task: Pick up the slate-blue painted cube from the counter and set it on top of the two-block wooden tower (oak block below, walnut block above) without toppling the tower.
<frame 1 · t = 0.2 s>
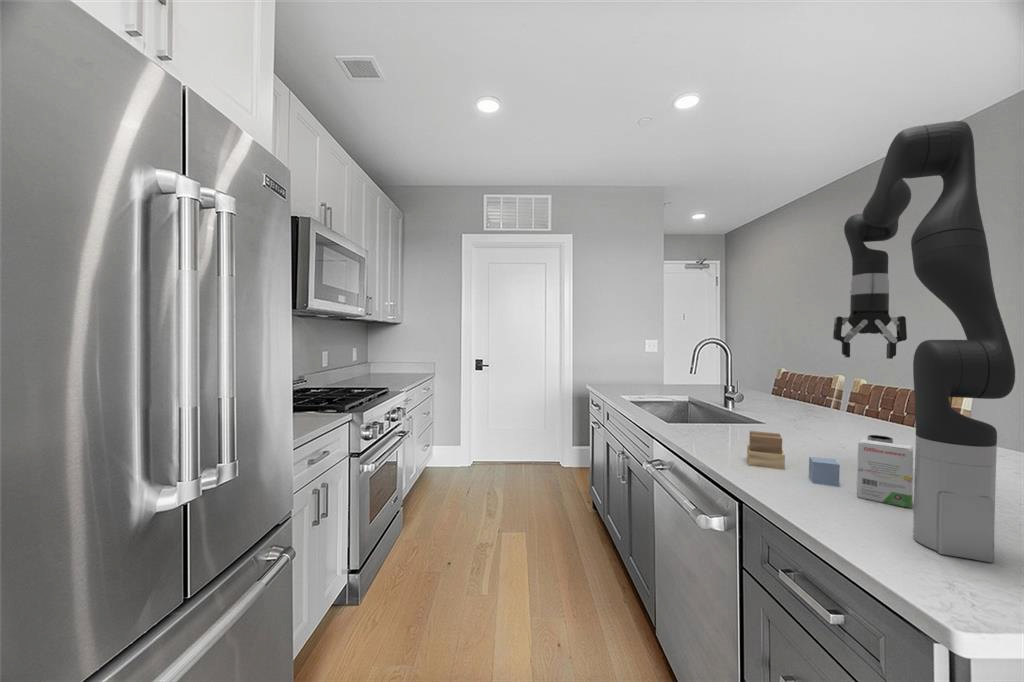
hand: (868, 358, 111), 28 cm above the worktop, fingers open, 8 cm apart
planter: (879, 481, 104), on the worktop
oak block: (765, 464, 117), on the worktop, touching walnut block
blue cube: (823, 481, 103), on the worktop
walnut block: (764, 449, 117), point 4 cm above the worktop, touching oak block
ink box: (884, 501, 92), on the worktop
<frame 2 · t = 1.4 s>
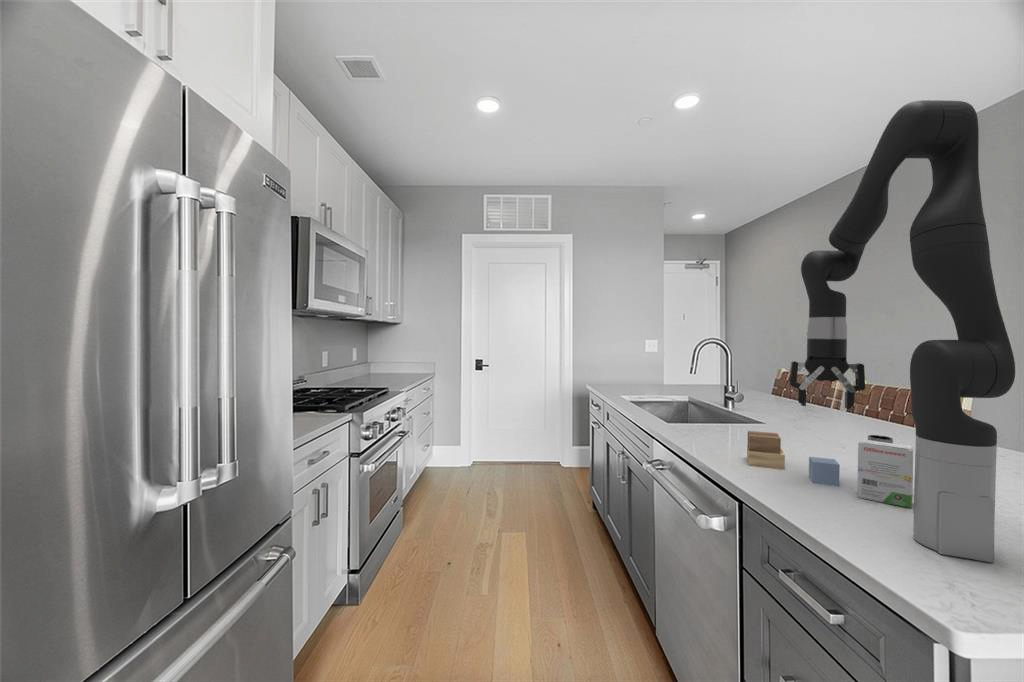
hand: (825, 407, 103), 17 cm above the worktop, fingers open, 8 cm apart
oak block: (764, 464, 117), on the worktop
walnut block: (763, 449, 118), point 4 cm above the worktop
everything else where it was.
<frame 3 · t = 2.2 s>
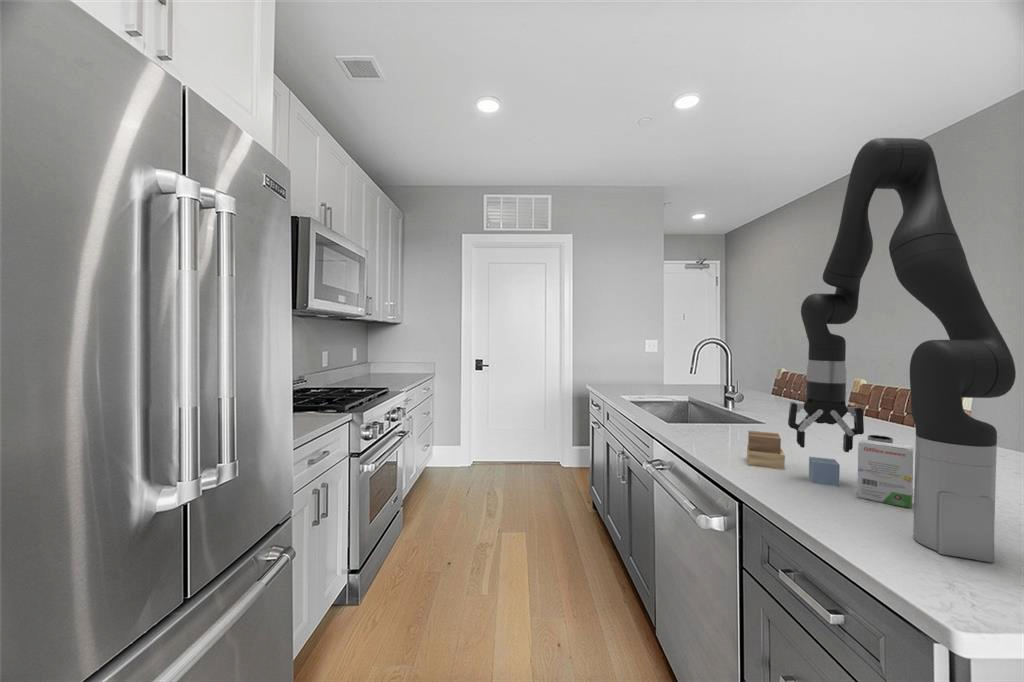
hand: (823, 449, 104), 7 cm above the worktop, fingers open, 8 cm apart
oak block: (764, 464, 117), on the worktop, touching walnut block
walnut block: (763, 449, 118), point 4 cm above the worktop, touching oak block
everything else where it was.
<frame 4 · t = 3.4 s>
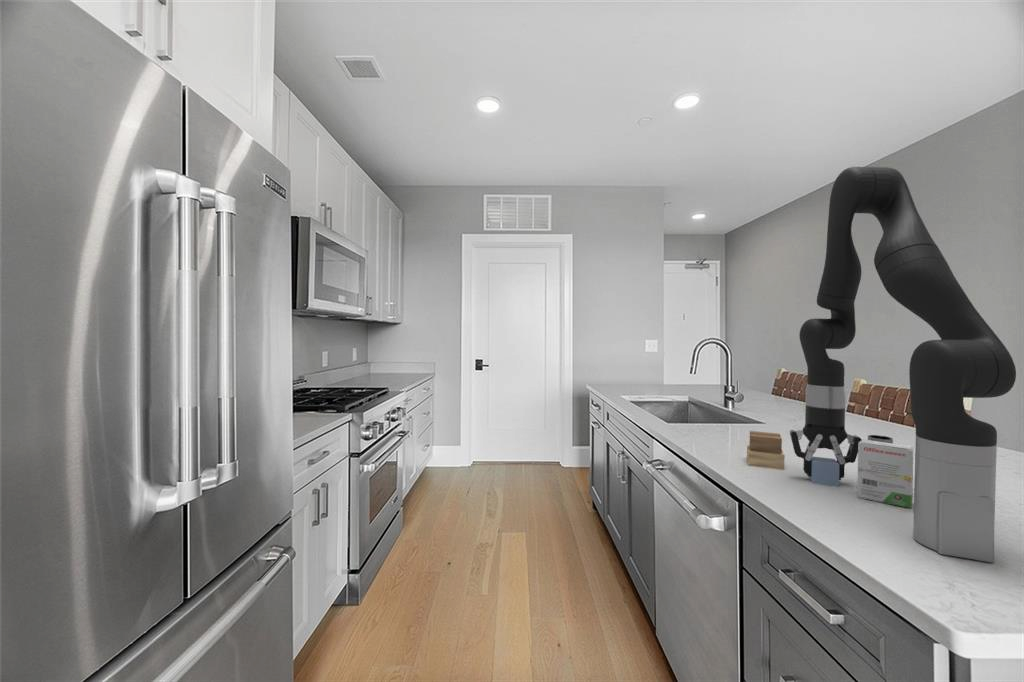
hand: (823, 477, 103), 1 cm above the worktop, fingers closed on blue cube, 5 cm apart
blue cube: (823, 481, 103), on the worktop, touching gripper
everything else where it was.
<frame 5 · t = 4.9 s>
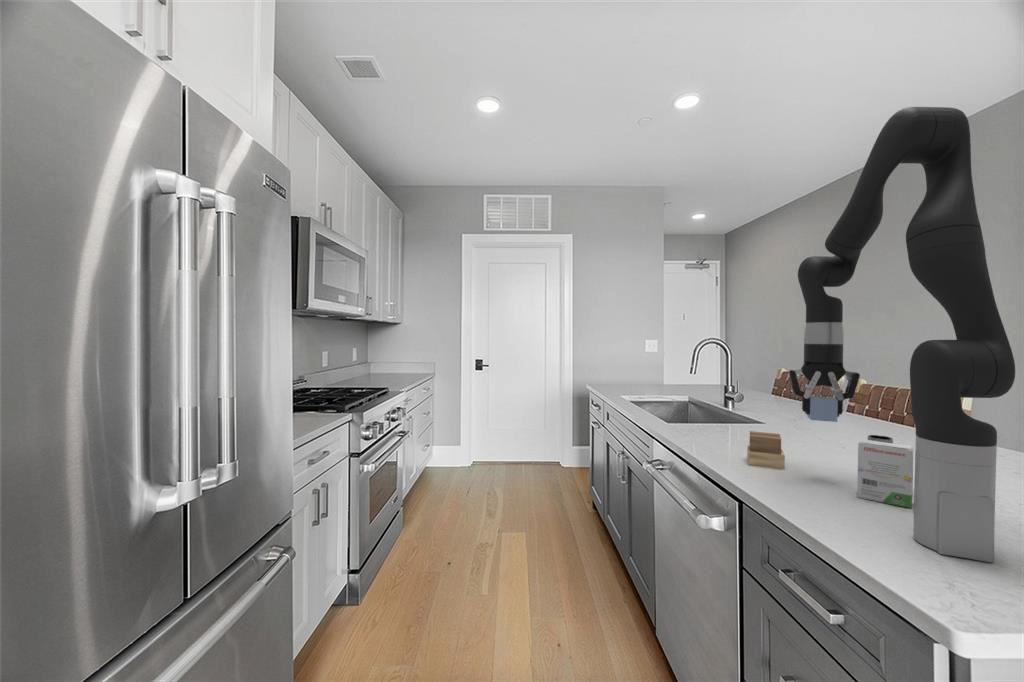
hand: (821, 414, 104), 15 cm above the worktop, fingers closed on blue cube, 5 cm apart
blue cube: (821, 419, 104), point 14 cm above the worktop, touching gripper
everything else where it was.
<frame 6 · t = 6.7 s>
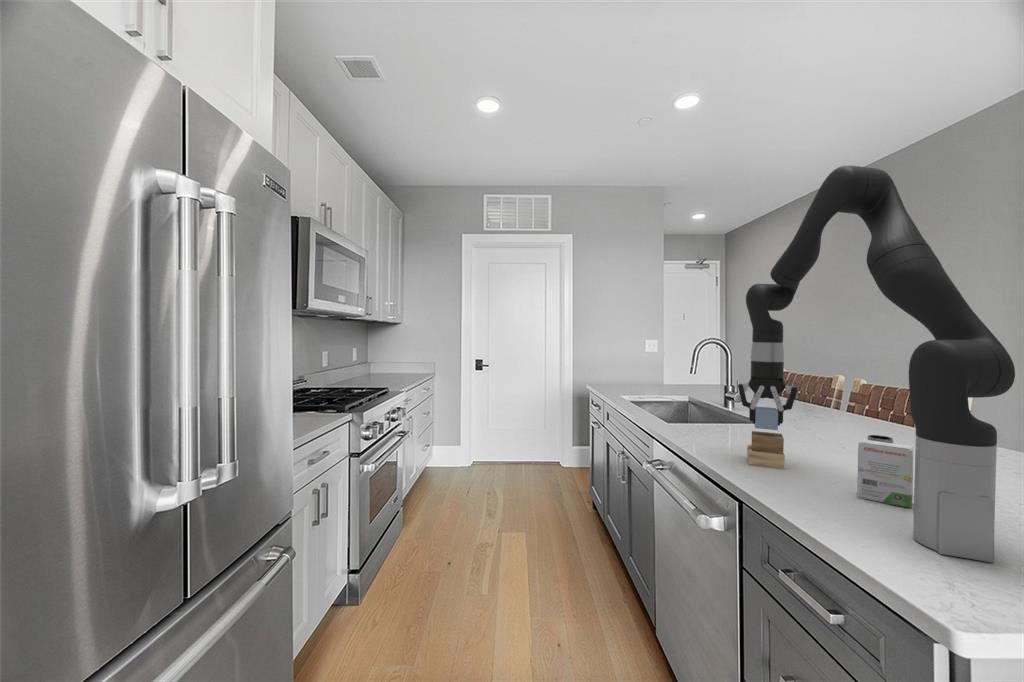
hand: (765, 423, 117), 11 cm above the worktop, fingers closed on blue cube, 5 cm apart
blue cube: (765, 427, 117), point 10 cm above the worktop, touching gripper
everything else where it was.
when the fingers open (10 cm above the worktop, at t = 7.2 s): blue cube drops 1 cm, resting on walnut block.
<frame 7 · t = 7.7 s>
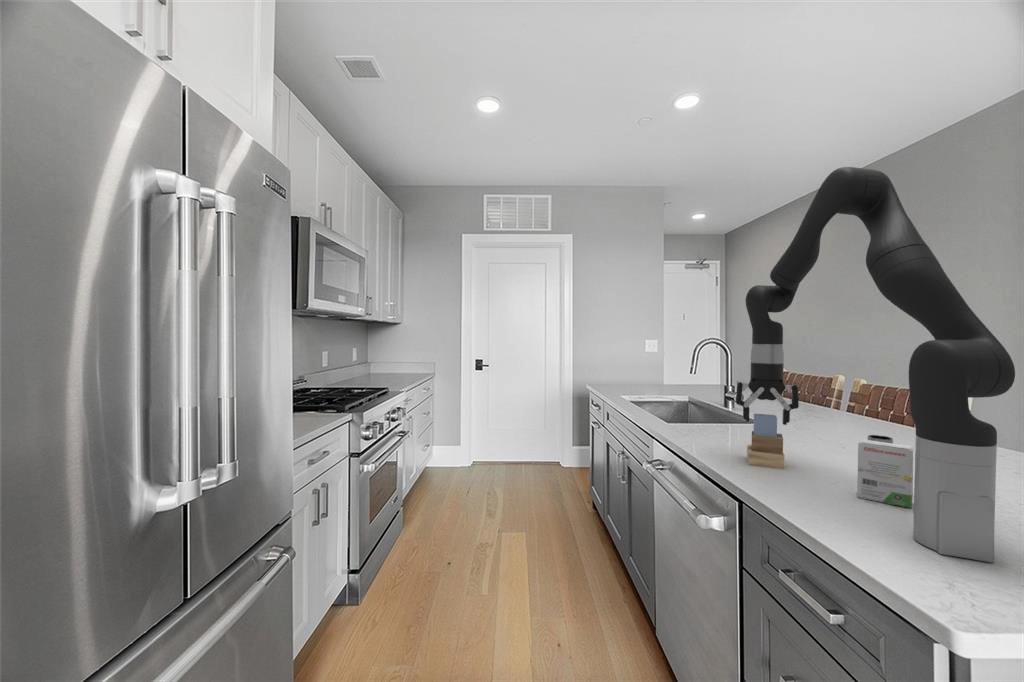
hand: (765, 422, 117), 11 cm above the worktop, fingers open, 8 cm apart
blue cube: (764, 434, 117), point 8 cm above the worktop, touching walnut block
walnut block: (766, 449, 117), point 4 cm above the worktop, touching blue cube, oak block
everything else where it was.
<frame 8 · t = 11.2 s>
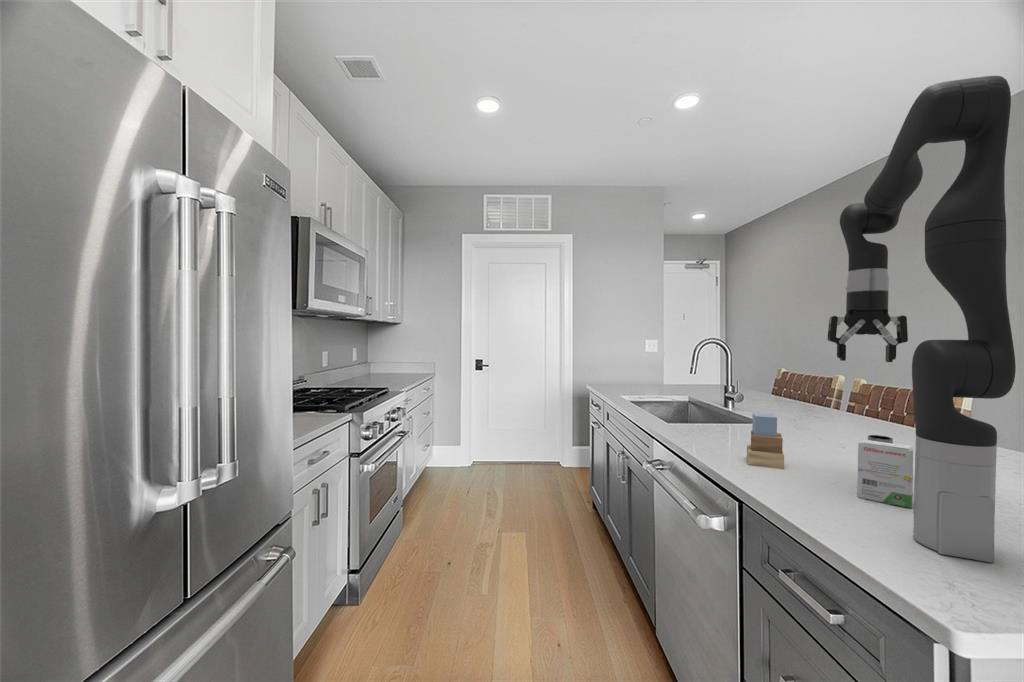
hand: (865, 361, 102), 28 cm above the worktop, fingers open, 8 cm apart
blue cube: (764, 434, 118), point 8 cm above the worktop
walnut block: (765, 449, 117), point 4 cm above the worktop, touching oak block
everything else where it was.
at the end: blue cube 0.4 cm off-centre on the walnut block, point 4.0 cm above the walnut block's base; blue cube tilted 0°; walnut block tilted 0° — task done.
